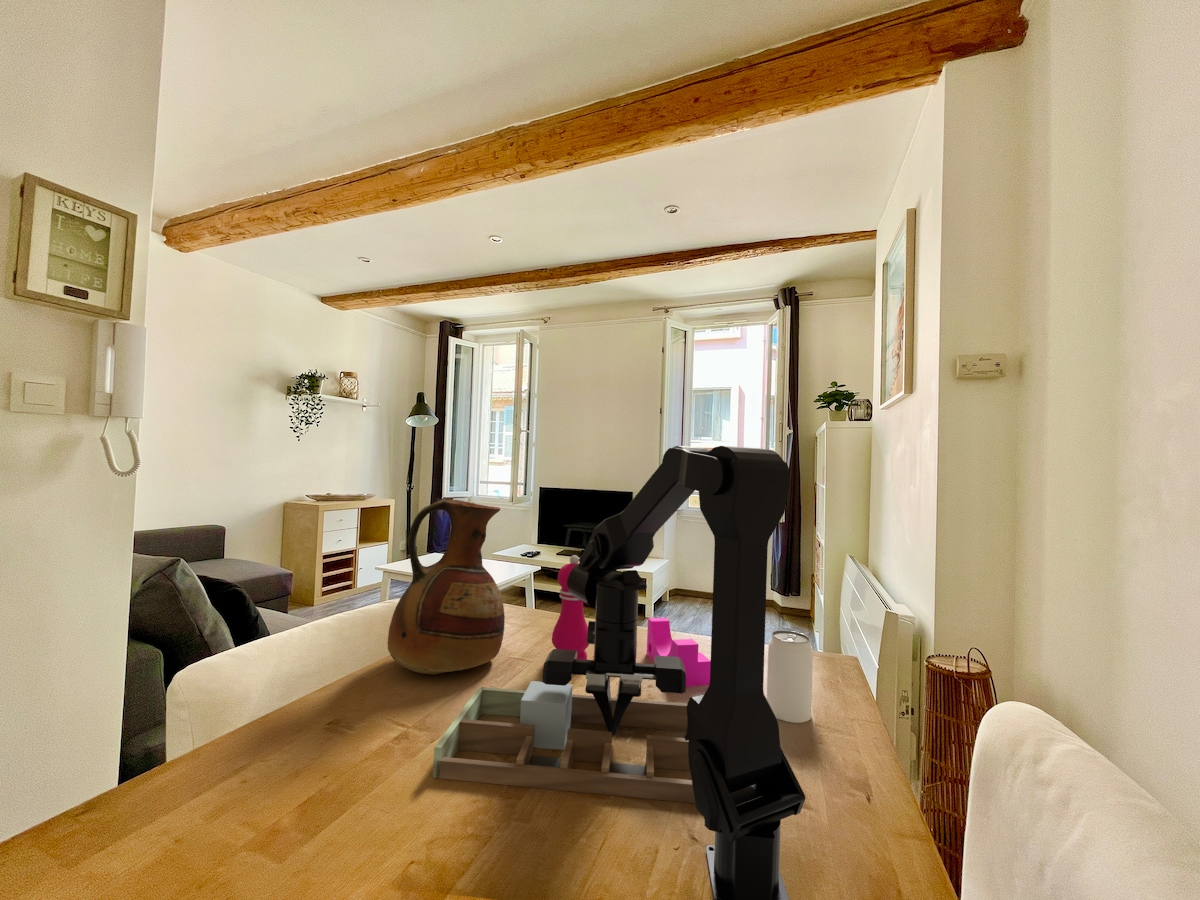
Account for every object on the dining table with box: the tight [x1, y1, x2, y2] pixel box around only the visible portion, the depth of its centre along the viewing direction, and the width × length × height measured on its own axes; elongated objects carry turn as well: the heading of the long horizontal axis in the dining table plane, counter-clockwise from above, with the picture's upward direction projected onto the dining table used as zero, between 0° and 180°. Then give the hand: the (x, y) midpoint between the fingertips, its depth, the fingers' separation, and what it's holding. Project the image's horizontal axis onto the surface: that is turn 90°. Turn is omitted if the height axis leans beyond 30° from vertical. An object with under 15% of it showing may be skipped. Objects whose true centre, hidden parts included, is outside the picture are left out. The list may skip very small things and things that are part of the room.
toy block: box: [646, 617, 711, 688], centre depth 94 cm, size 15×6×8 cm, turn 14°
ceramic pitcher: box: [387, 498, 506, 675], centre depth 93 cm, size 20×20×30 cm
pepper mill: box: [551, 554, 590, 660], centre depth 95 cm, size 7×7×20 cm
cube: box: [519, 680, 573, 751], centre depth 69 cm, size 6×6×6 cm
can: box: [766, 629, 814, 724], centre depth 78 cm, size 6×6×12 cm
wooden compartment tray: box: [432, 686, 696, 804], centre depth 66 cm, size 16×33×4 cm, turn 85°
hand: (612, 734), depth 68 cm, fingers closed
